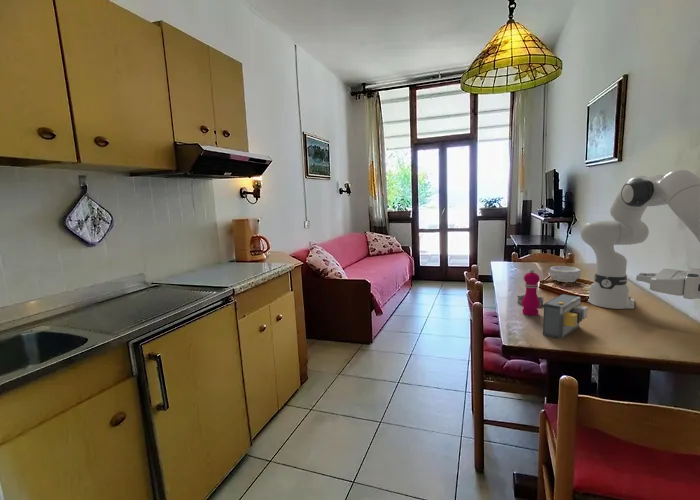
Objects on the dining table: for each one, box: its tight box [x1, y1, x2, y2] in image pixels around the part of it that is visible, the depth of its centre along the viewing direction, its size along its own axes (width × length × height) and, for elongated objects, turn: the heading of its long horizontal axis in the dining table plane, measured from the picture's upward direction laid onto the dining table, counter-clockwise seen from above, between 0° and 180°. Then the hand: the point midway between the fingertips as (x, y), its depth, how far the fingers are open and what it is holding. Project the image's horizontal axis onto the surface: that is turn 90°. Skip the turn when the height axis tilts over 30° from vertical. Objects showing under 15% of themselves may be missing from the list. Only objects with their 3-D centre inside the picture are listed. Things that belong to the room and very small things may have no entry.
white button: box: [575, 305, 589, 320], centre depth 138 cm, size 4×4×4 cm
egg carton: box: [517, 294, 545, 307], centre depth 172 cm, size 11×8×4 cm
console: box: [542, 293, 582, 340], centre depth 137 cm, size 18×6×13 cm, turn 130°
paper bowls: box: [549, 265, 581, 283], centre depth 210 cm, size 15×15×8 cm
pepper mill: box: [521, 268, 541, 317], centre depth 157 cm, size 7×7×20 cm
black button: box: [570, 308, 583, 324], centre depth 134 cm, size 4×4×4 cm
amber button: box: [564, 312, 577, 327], centre depth 131 cm, size 4×4×4 cm
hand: (638, 276), depth 117 cm, fingers open, 2 cm apart
